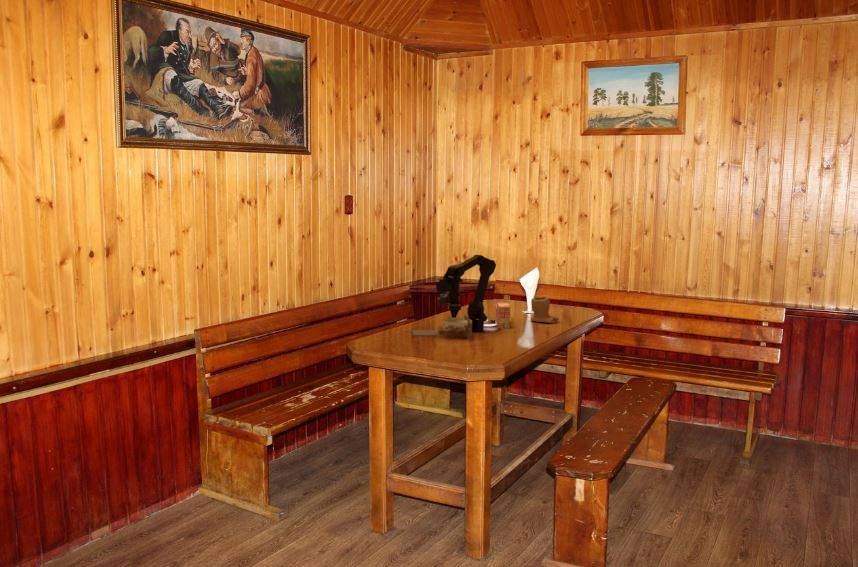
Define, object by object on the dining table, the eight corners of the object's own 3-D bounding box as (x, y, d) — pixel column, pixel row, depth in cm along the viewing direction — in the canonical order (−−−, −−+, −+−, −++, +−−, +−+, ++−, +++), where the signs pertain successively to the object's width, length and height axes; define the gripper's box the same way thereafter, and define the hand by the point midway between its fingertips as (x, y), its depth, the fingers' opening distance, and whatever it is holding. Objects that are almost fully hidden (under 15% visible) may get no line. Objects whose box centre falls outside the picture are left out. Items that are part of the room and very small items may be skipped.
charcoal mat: (435, 332, 389) (435, 330, 389) (436, 337, 377) (436, 335, 377) (412, 332, 388) (412, 330, 388) (413, 337, 376) (413, 334, 376)
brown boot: (526, 322, 421) (527, 296, 419) (534, 319, 432) (535, 294, 429) (551, 325, 414) (552, 299, 412) (559, 322, 424) (560, 296, 422)
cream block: (455, 331, 390) (455, 320, 390) (456, 333, 386) (456, 321, 385) (447, 331, 390) (447, 320, 389) (447, 333, 386) (448, 321, 385)
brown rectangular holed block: (466, 330, 395) (467, 314, 393) (471, 341, 370) (472, 323, 369) (437, 330, 394) (438, 314, 393) (440, 340, 369) (441, 323, 368)
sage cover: (466, 322, 378) (466, 317, 378) (468, 325, 371) (468, 320, 370) (443, 322, 378) (443, 317, 377) (444, 325, 370) (444, 320, 370)
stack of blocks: (494, 321, 424) (495, 300, 423) (505, 321, 425) (506, 300, 423) (498, 328, 403) (499, 306, 402) (509, 328, 403) (510, 306, 402)
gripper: (437, 288, 386) (436, 317, 388) (439, 293, 367) (438, 324, 370) (458, 288, 386) (457, 317, 389) (461, 293, 368) (460, 324, 370)
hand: (453, 320), depth 379 cm, fingers closed
